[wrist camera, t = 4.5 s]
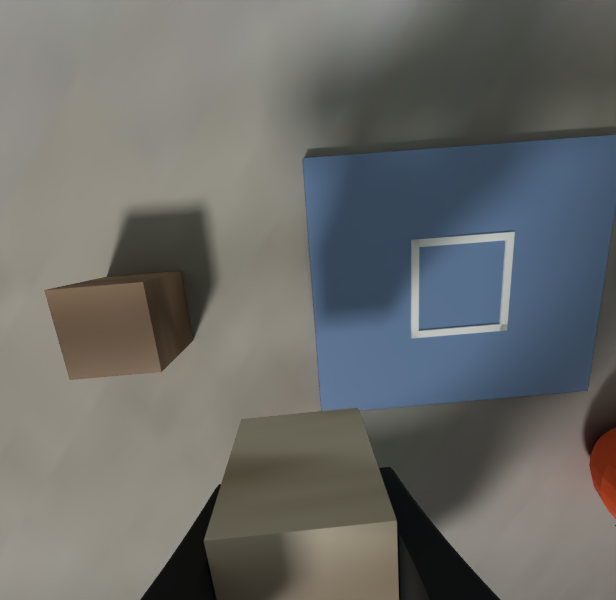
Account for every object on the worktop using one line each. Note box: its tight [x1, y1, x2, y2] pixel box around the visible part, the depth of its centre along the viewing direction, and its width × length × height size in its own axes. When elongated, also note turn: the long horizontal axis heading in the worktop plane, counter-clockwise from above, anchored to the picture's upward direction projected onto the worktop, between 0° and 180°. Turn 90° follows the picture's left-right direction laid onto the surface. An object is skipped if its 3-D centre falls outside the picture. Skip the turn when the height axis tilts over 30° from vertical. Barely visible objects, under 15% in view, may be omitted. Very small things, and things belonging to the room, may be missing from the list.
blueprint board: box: [303, 135, 616, 411], centre depth 16 cm, size 14×16×1 cm
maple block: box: [204, 408, 399, 600], centre depth 8 cm, size 4×4×4 cm
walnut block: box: [44, 271, 193, 380], centre depth 14 cm, size 4×4×4 cm
